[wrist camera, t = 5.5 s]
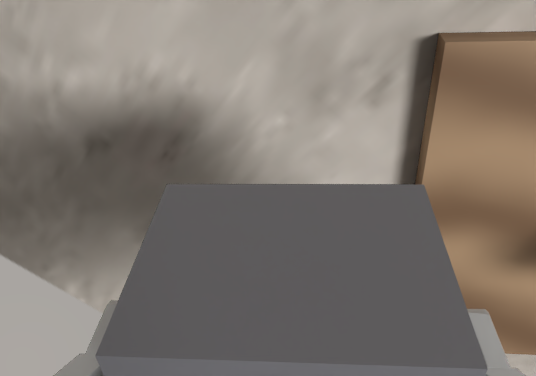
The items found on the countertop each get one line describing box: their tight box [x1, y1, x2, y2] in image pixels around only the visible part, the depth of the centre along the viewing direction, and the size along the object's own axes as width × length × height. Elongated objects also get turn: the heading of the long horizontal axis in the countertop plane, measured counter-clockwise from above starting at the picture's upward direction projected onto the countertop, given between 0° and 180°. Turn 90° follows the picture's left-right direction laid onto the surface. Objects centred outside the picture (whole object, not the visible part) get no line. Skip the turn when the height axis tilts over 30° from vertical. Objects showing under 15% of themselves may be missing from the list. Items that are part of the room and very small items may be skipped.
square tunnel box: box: [95, 184, 488, 376], centre depth 11 cm, size 6×6×5 cm
